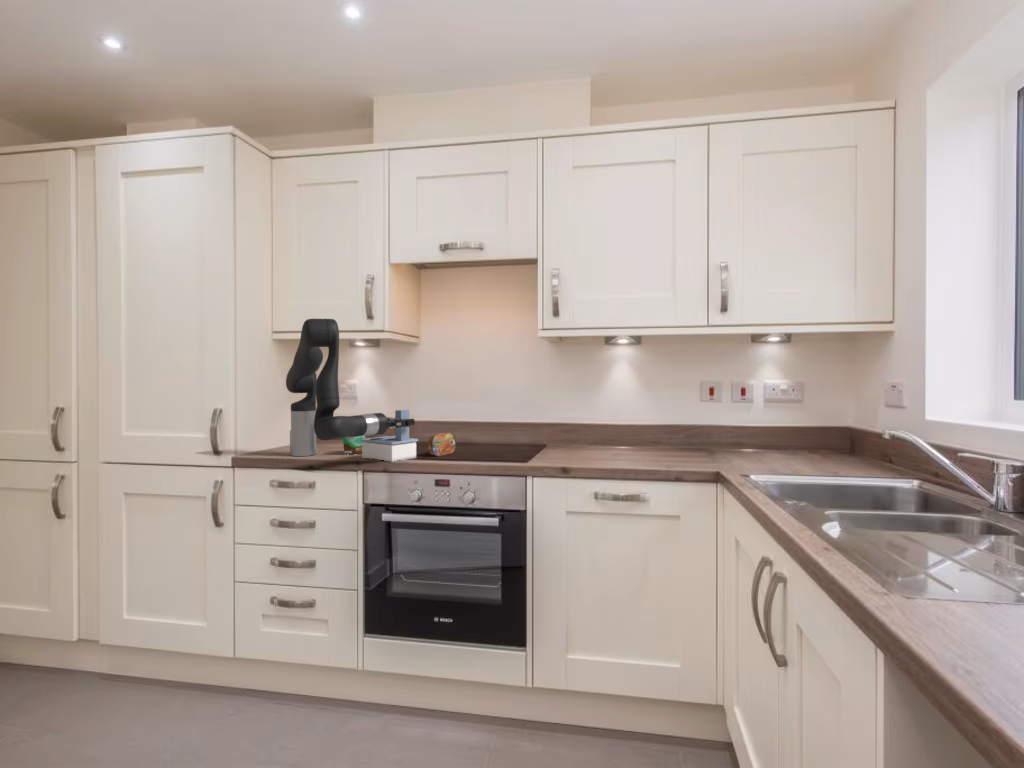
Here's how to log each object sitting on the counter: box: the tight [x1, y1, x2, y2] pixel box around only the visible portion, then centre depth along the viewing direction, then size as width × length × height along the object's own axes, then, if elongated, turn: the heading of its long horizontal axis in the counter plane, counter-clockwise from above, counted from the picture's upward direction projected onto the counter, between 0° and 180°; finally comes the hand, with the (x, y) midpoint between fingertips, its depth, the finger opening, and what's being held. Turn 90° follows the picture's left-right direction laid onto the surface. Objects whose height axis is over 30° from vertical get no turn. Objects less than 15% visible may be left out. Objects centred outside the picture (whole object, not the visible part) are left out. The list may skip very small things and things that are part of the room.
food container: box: [342, 436, 366, 456], centre depth 219 cm, size 12×6×10 cm, turn 161°
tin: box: [427, 431, 457, 457], centre depth 216 cm, size 15×3×8 cm, turn 149°
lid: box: [360, 409, 419, 445], centre depth 207 cm, size 17×13×12 cm
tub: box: [361, 441, 417, 463], centre depth 207 cm, size 16×12×6 cm
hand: (405, 421), depth 204 cm, fingers open, 8 cm apart
